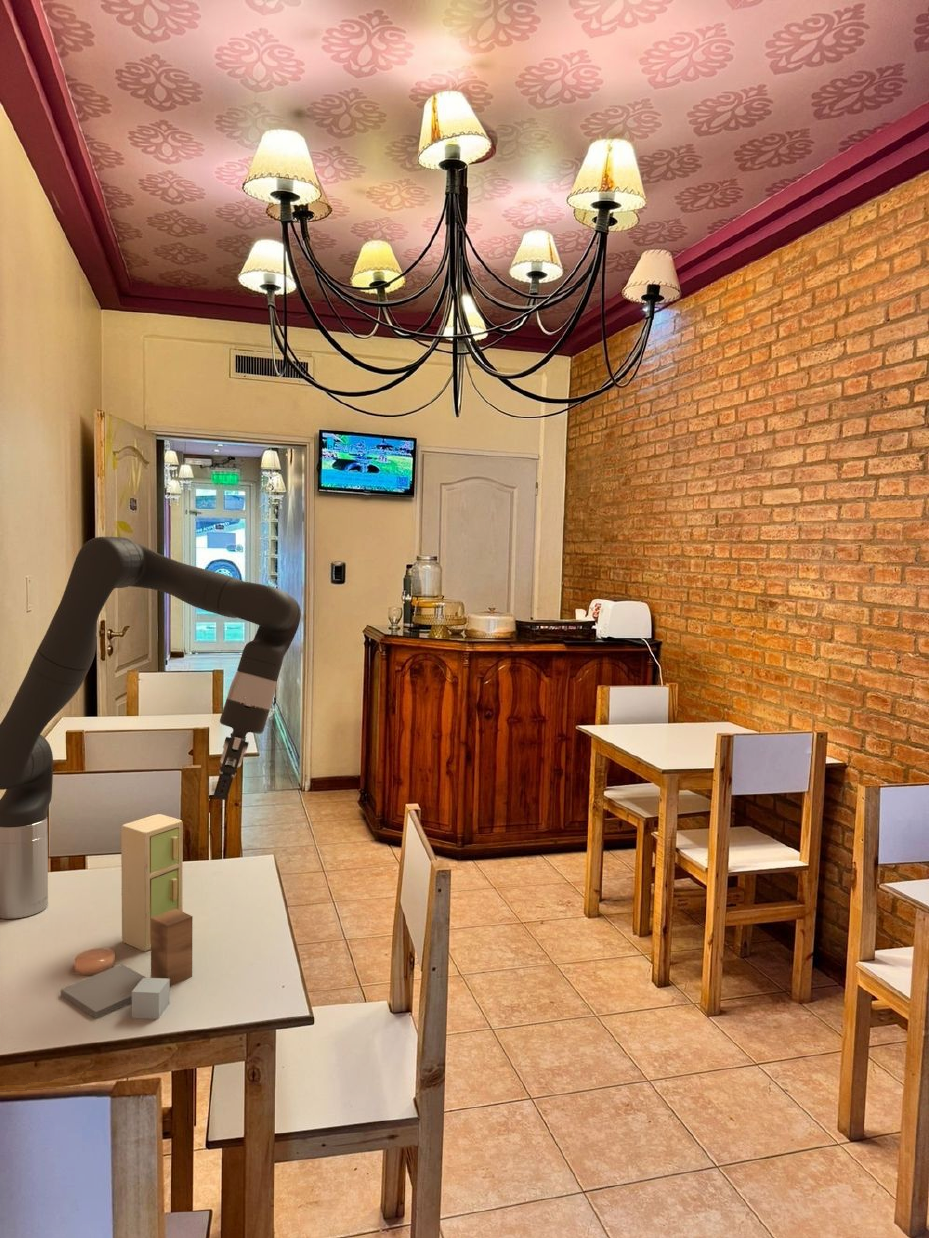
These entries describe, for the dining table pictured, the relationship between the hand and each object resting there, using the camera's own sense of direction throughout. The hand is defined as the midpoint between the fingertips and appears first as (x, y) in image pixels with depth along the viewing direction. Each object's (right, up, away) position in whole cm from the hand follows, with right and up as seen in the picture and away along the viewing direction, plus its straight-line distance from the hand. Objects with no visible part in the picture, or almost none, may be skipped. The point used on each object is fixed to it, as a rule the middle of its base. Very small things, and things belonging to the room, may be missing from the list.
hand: (220, 795), depth 136 cm
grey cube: (-5, -28, -16) cm, 33 cm away
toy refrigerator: (-14, -27, +6) cm, 31 cm away
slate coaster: (-14, -28, -12) cm, 33 cm away
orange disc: (-20, -27, -4) cm, 34 cm away
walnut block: (-6, -28, -7) cm, 29 cm away
